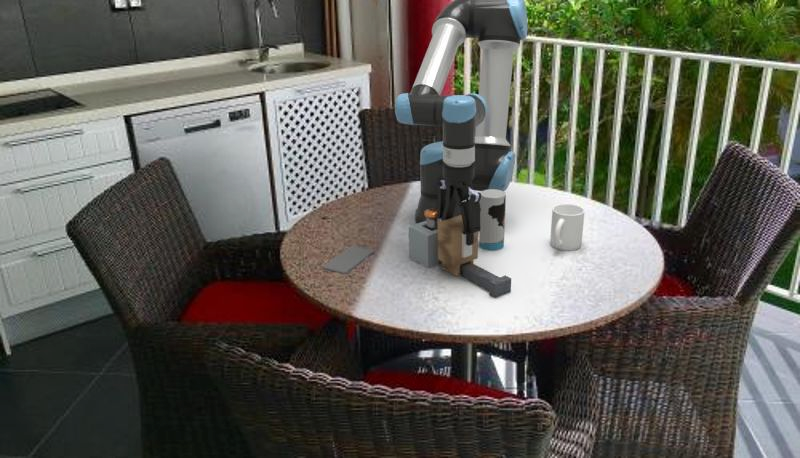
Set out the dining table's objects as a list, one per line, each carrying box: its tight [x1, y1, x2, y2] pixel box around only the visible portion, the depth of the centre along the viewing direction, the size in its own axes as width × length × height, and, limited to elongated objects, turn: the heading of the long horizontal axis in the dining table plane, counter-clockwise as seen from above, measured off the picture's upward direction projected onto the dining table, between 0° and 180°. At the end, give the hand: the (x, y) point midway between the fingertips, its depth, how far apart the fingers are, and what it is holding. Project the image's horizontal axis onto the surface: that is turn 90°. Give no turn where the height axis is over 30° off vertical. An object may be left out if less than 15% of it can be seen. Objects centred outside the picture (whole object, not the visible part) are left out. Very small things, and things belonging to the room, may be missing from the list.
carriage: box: [438, 215, 479, 277], centre depth 169 cm, size 6×8×13 cm
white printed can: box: [478, 189, 507, 252], centre depth 182 cm, size 7×7×15 cm
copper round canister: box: [425, 209, 442, 231], centre depth 175 cm, size 4×4×7 cm
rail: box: [438, 260, 512, 299], centre depth 167 cm, size 22×5×4 cm, turn 36°
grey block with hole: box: [407, 219, 441, 269], centre depth 177 cm, size 8×10×9 cm
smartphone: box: [321, 244, 375, 275], centre depth 179 cm, size 8×1×15 cm
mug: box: [550, 203, 585, 251], centre depth 181 cm, size 12×8×10 cm
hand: (457, 251), depth 170 cm, fingers closed on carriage, 6 cm apart
